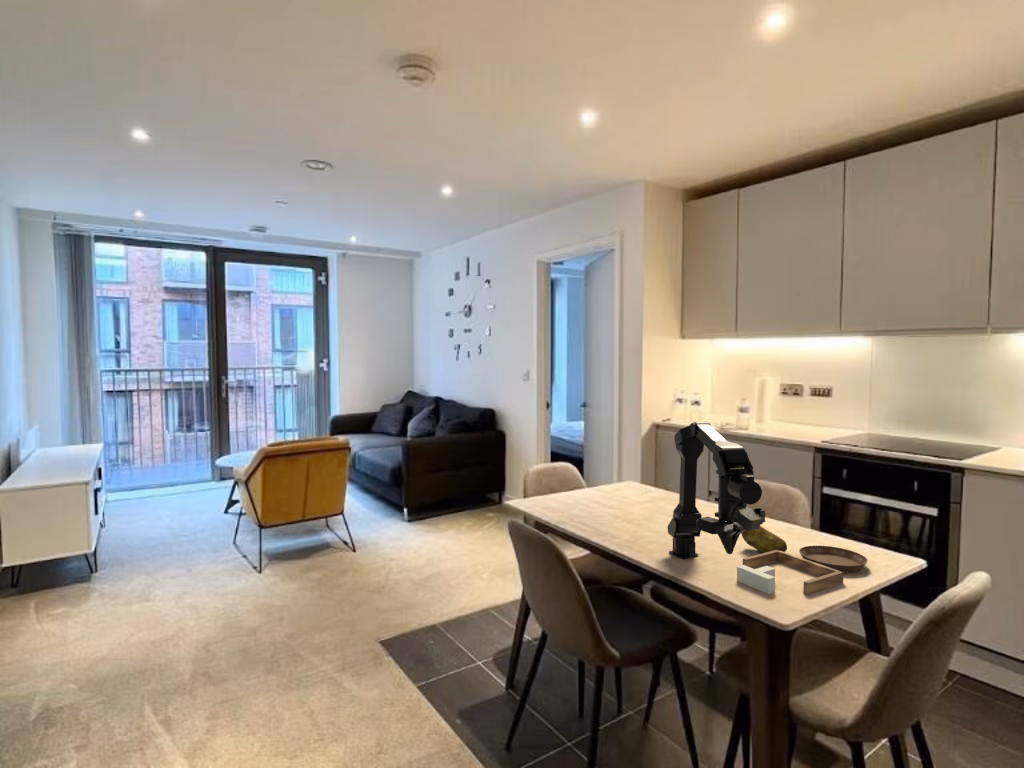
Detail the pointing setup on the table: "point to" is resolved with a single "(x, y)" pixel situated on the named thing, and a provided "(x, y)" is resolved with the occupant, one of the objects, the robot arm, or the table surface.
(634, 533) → the table surface
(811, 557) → the plant saucer
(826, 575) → the corral
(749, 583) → the t block
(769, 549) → the potato
